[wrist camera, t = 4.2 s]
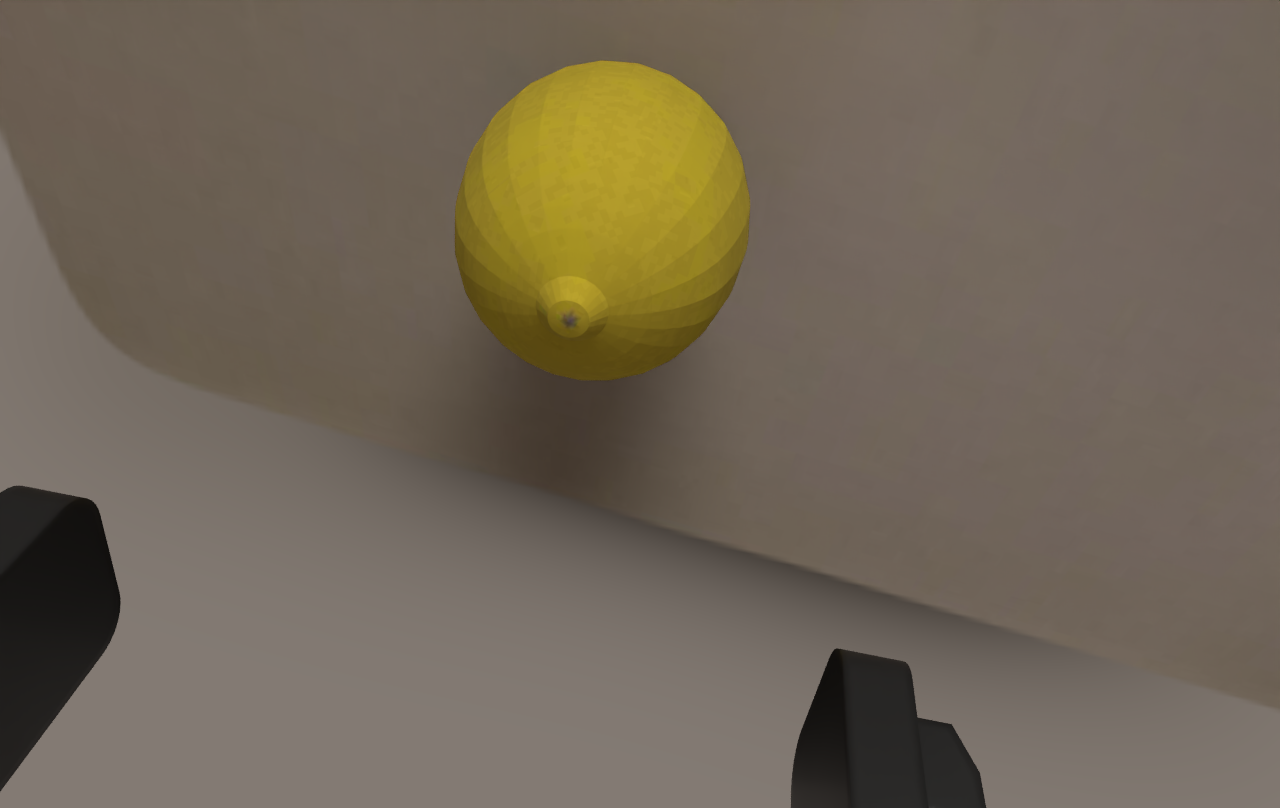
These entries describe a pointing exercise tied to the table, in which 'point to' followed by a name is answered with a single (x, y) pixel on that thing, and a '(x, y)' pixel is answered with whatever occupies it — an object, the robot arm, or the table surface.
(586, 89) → the lemon
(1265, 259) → the table surface
